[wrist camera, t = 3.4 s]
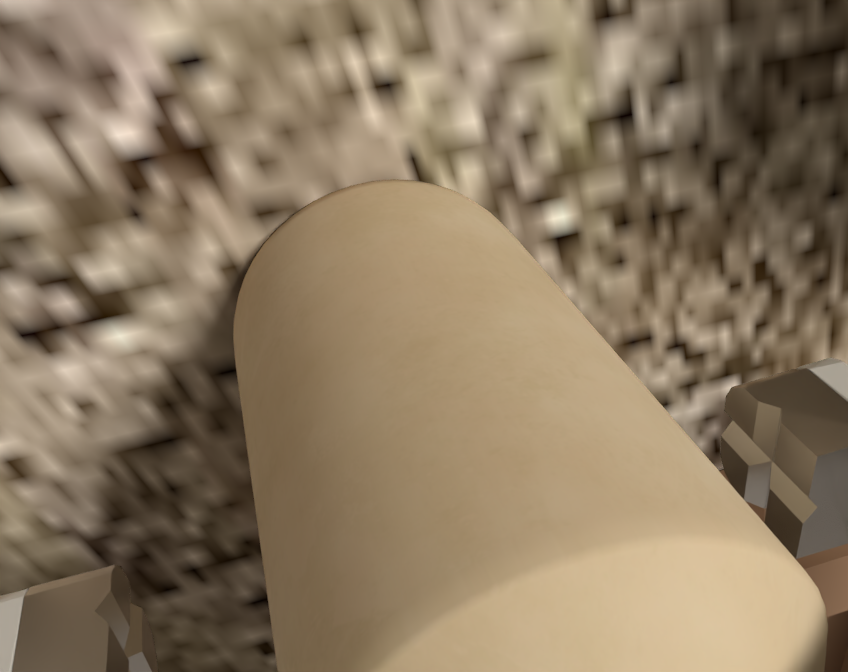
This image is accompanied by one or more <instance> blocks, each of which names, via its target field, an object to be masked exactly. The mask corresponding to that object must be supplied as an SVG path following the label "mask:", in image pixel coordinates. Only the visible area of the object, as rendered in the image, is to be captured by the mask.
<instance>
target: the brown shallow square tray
mask: <svg viewBox="0 0 848 672" xmlns="http://www.w3.org/2000/svg"><path fill="white" fill-rule="evenodd" d="M719 472H720V473H721V474H722V475H723V476H724V478H725V479H726V480H727V481H728V482H729V483H730V481H729V480H728V478H727V476H726V474H725V472H724V470H721V471H719ZM730 484H731V483H730ZM731 486H732V485H731ZM745 502H746V503H747V504H748V505H749V506H750V507H751V509H752V510H753V511H754V512H755V513H756V514H757V515H758V517H759V518H760V519H761V520H762V521H763V522H764V508H761V507H759V506H757V505H754V504H752V503H749V502H747V501H745ZM785 548H786V547H785ZM791 555H792V554H791ZM792 556H793V555H792ZM793 557H794V556H793ZM796 560H797V562H798V563H799V564H800V565H801V566H802V567H803V569H804V570H805V571H806V572H807V574H808V575H809V576H810V578H811V579H812V580H813V582H814V583H815V585H816V586H817V587H818V589H819V592H820V594H821V597H822V599H823V602H824V605H825V608H826V616H827V623H828V633H827V647H826V659H825V669H824V672H848V544H844V545H841V546H838V547H834V548H831V549H828V550H824V551H821V552H818V553H814V554H811V555H808V556H804V557H801V558H798V559H796Z"/></svg>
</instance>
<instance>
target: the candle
mask: <svg viewBox="0 0 848 672" xmlns="http://www.w3.org/2000/svg"><path fill="white" fill-rule="evenodd" d="M233 342H234V352H235V363H236V371H237V378H238V386H239V393H240V400H241V408H242V415H243V422H244V429H245V437H246V444H247V451H248V459H249V466H250V473H251V480H252V488H253V495H254V502H255V510H256V517H257V524H258V531H259V539H260V546H261V553H262V560H263V568H264V575H265V582H266V590H267V597H268V604H269V611H270V619H271V626H272V633H273V641H274V648H275V655H276V662H277V670H278V672H824V669H825V659H826V647H827V633H828V623H827V616H826V608H825V605H824V602H823V599H822V597H821V594H820V592H819V589H818V587H817V586H816V585H815V583H814V582H813V580H812V579H811V578H810V576H809V575H808V574H807V572H806V571H805V570H804V569H803V567H802V566H801V565H800V564H799V563H798V562H797V560H796V559H795V558H794V557H793V556H792V555H791V553H790V552H789V551H788V550H787V549H786V548H785V546H784V545H783V544H782V543H781V542H780V541H779V540H778V538H777V537H776V536H775V535H774V534H773V533H772V532H771V530H770V529H769V528H768V527H767V526H766V525H765V523H764V522H763V521H762V520H761V519H760V518H759V517H758V515H757V514H756V513H755V512H754V511H753V510H752V509H751V507H750V506H749V505H748V504H747V503H746V502H745V500H744V499H743V498H742V497H741V496H740V495H739V494H738V492H737V491H736V490H735V489H734V488H733V487H732V486H731V484H730V483H729V482H728V481H727V480H726V479H725V478H724V476H723V475H722V474H721V473H720V472H719V471H718V469H717V468H716V467H715V466H714V465H713V464H712V463H711V461H710V460H709V459H708V458H707V457H706V456H705V455H704V453H703V452H702V451H701V450H700V449H699V448H698V447H697V445H696V444H695V443H694V442H693V441H692V440H691V438H690V437H689V436H688V435H687V434H686V433H685V432H684V430H683V429H682V428H681V427H680V426H679V425H678V424H677V422H676V421H675V420H674V419H673V418H672V417H671V416H670V414H669V413H668V412H667V411H666V410H665V409H664V407H663V406H662V405H661V404H660V403H659V402H658V401H657V399H656V398H655V397H654V396H653V395H652V394H651V393H650V391H649V390H648V389H647V388H646V387H645V386H644V385H643V383H642V382H641V381H640V380H639V379H638V378H637V377H636V375H635V374H634V373H633V372H632V371H631V370H630V368H629V367H628V366H627V365H626V364H625V363H624V362H623V360H622V359H621V358H620V357H619V356H618V355H617V354H616V352H615V351H614V350H613V349H612V348H611V347H610V346H609V344H608V343H607V342H606V341H605V340H604V339H603V337H602V336H601V335H600V334H599V333H598V332H597V331H596V329H595V328H594V327H593V326H592V325H591V324H590V323H589V321H588V320H587V319H586V318H585V317H584V316H583V315H582V313H581V312H580V311H579V310H578V309H577V308H576V306H575V305H574V304H573V303H572V302H571V301H570V300H569V298H568V297H567V296H566V295H565V294H564V293H563V292H562V290H561V289H560V288H559V287H558V286H557V285H556V284H555V282H554V281H553V280H552V279H551V278H550V277H549V275H548V274H547V273H546V272H545V271H544V270H543V269H542V267H541V266H540V265H539V264H538V263H537V262H536V261H535V259H534V258H533V257H532V256H531V255H530V254H529V253H528V251H527V250H526V249H525V248H524V247H523V246H522V245H521V243H520V242H519V241H518V240H517V239H516V238H515V237H514V236H513V235H512V234H511V233H510V232H509V231H508V230H507V228H506V227H505V226H504V225H503V224H502V223H501V222H500V221H499V220H497V219H496V218H495V217H494V216H493V215H492V214H491V213H490V212H489V211H487V210H486V209H484V208H483V207H481V206H480V205H478V204H477V203H475V202H474V201H472V200H470V199H469V198H467V197H465V196H463V195H461V194H459V193H457V192H455V191H453V190H451V189H447V188H444V187H441V186H438V185H435V184H431V183H426V182H420V181H414V180H394V179H393V180H381V181H371V182H367V183H362V184H357V185H353V186H349V187H347V188H344V189H341V190H338V191H335V192H332V193H330V194H328V195H326V196H324V197H322V198H320V199H318V200H316V201H314V202H312V203H310V204H309V205H307V206H306V207H304V208H303V209H301V210H300V211H298V212H297V213H295V214H294V215H293V216H292V217H290V218H289V219H288V220H287V221H286V222H285V223H283V224H282V225H281V226H280V227H279V228H278V229H277V230H276V231H275V232H274V233H273V234H272V235H271V237H270V238H269V239H268V240H267V241H266V242H265V243H264V245H263V246H262V248H261V249H260V251H259V252H258V253H257V255H256V256H255V258H254V259H253V261H252V263H251V265H250V267H249V269H248V271H247V273H246V275H245V277H244V280H243V283H242V286H241V289H240V292H239V295H238V300H237V306H236V311H235V317H234V330H233Z"/></svg>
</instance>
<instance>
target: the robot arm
mask: <svg viewBox="0 0 848 672" xmlns="http://www.w3.org/2000/svg"><path fill="white" fill-rule="evenodd" d="M724 411H725V412H726V414H727V415H728V416H729V417H730V418H731V419H732V420H733V421H732V422H731V423H730V425H729V426H728V427H727V429H726V430H725V431H724V433H723V434H722V436H721V446H720V457H721V461H722V464H723V468H724V472H725V474H726V476H727V478H728V480H729V481H730V483H731V485H732V487H733V488H734V489H735V490H736V491H737V492H738V494H739V495H740V496H741V497H742V498H743V499H744V500H745V501H747V502H749V503H752V504H754V505H757V506H759V507H761V508H764V523H765V525H766V526H767V527H768V528H769V529H770V530H771V532H772V533H773V534H774V535H775V536H776V537H777V538H778V540H779V541H780V542H781V543H782V544H783V545H784V546H785V547H786V549H787V550H788V551H789V552H790V553H791V554H792V555H793V556H794V558H795V559H798V558H801V557H804V556H808V555H811V554H814V553H818V552H821V551H824V550H828V549H831V548H834V547H838V546H841V545H844V544H848V365H847V364H846V363H844V362H843V361H841V360H838V359H834V358H828V359H824V360H821V361H818V362H814V363H811V364H808V365H804V366H801V367H798V368H797V369H792V370H788V371H785V372H782V373H778V374H775V375H771V376H768V377H765V378H761V379H758V380H755V381H751V382H748V383H745V384H741V385H738V386H734V387H732V388H731V389H730V391H729V393H728V394H727V396H726V401H725V409H724ZM130 589H131V584H130V582H129V580H128V578H127V576H126V575H125V573H124V571H123V569H122V567H121V566H118V565H112V566H108V567H104V568H100V569H97V570H93V571H89V572H85V573H81V574H77V575H74V576H70V577H66V578H62V579H58V580H55V581H51V582H47V583H43V584H39V585H36V586H32V587H30V588H28V589H24V590H20V591H17V592H13V593H9V594H5V595H1V596H0V672H158V663H157V656H156V650H155V644H154V638H153V635H152V632H151V628H150V625H149V622H148V620H147V618H146V615H145V613H144V611H143V609H142V608H141V607H138V606H136V605H134V604H132V603H130Z"/></svg>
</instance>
